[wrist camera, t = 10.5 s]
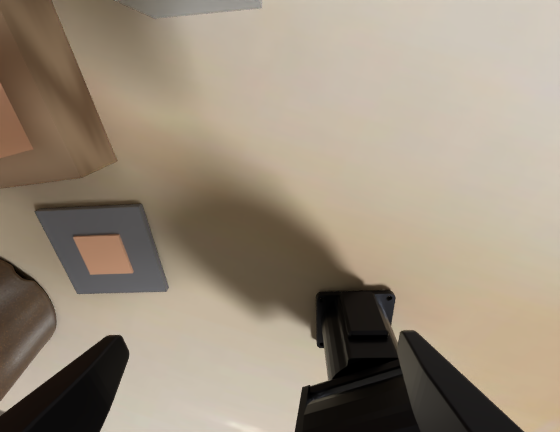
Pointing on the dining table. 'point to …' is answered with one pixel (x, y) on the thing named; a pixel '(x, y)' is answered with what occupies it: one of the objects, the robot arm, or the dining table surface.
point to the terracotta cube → (11, 129)
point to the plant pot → (21, 324)
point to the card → (105, 248)
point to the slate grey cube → (188, 6)
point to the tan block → (47, 99)
